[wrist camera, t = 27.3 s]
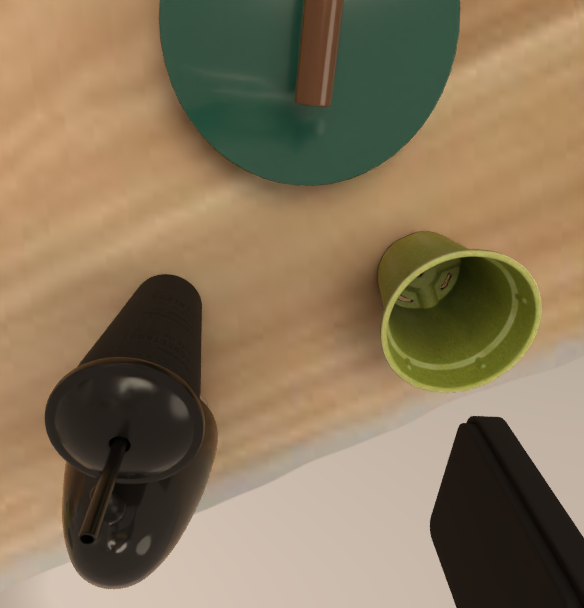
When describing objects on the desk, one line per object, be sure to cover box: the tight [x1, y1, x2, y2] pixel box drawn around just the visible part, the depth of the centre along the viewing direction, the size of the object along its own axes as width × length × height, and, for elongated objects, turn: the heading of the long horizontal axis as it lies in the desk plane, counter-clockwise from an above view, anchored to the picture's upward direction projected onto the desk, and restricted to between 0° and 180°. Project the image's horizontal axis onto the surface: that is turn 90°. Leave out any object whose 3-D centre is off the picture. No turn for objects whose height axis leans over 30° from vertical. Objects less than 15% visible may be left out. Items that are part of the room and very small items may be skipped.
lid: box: [159, 0, 460, 186], centre depth 25 cm, size 16×16×6 cm
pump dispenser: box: [62, 394, 218, 589], centre depth 34 cm, size 10×10×15 cm
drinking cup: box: [45, 275, 205, 545], centre depth 28 cm, size 8×8×20 cm
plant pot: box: [378, 232, 542, 393], centre depth 33 cm, size 9×9×9 cm
